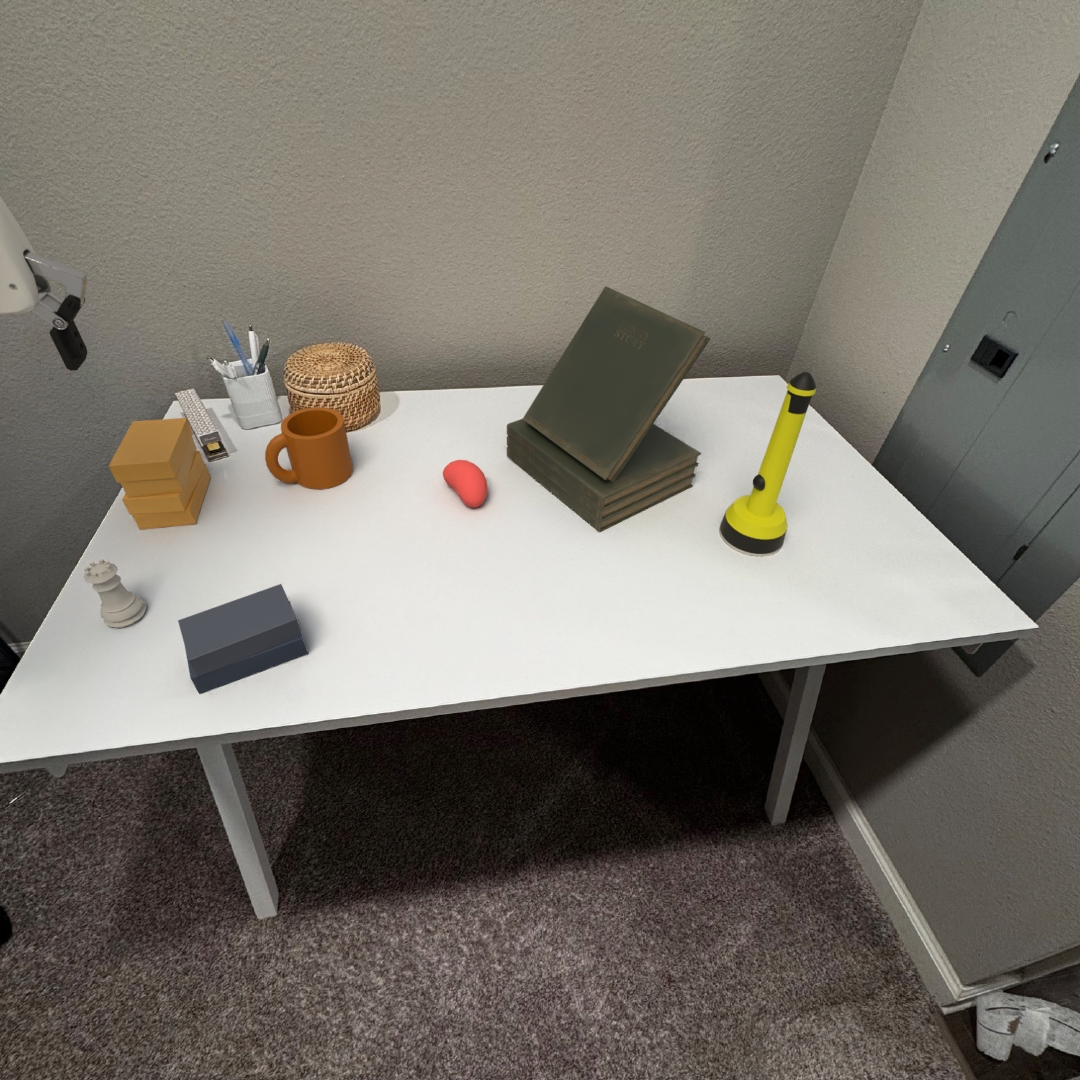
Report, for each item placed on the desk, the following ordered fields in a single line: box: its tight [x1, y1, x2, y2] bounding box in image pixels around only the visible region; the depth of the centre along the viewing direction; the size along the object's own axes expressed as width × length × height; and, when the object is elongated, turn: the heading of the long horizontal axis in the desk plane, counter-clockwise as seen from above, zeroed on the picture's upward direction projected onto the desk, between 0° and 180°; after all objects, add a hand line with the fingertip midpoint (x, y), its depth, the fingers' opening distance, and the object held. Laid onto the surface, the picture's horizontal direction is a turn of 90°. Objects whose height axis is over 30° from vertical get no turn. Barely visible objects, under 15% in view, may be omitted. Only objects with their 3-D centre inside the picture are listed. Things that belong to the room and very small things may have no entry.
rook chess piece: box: [83, 558, 147, 629], centre depth 71 cm, size 4×4×8 cm
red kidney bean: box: [442, 459, 489, 508], centre depth 92 cm, size 5×9×6 cm, turn 21°
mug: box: [264, 406, 354, 490], centre depth 93 cm, size 9×12×9 cm
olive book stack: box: [506, 285, 711, 533], centre depth 91 cm, size 23×20×25 cm
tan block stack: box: [119, 436, 212, 530], centre depth 87 cm, size 12×8×8 cm, turn 11°
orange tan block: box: [108, 417, 194, 484], centre depth 84 cm, size 11×7×3 cm, turn 11°
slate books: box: [177, 583, 309, 695], centre depth 68 cm, size 12×7×6 cm, turn 119°
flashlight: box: [718, 371, 817, 557], centre depth 81 cm, size 25×9×9 cm
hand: (22, 367), depth 60 cm, fingers open, 9 cm apart
